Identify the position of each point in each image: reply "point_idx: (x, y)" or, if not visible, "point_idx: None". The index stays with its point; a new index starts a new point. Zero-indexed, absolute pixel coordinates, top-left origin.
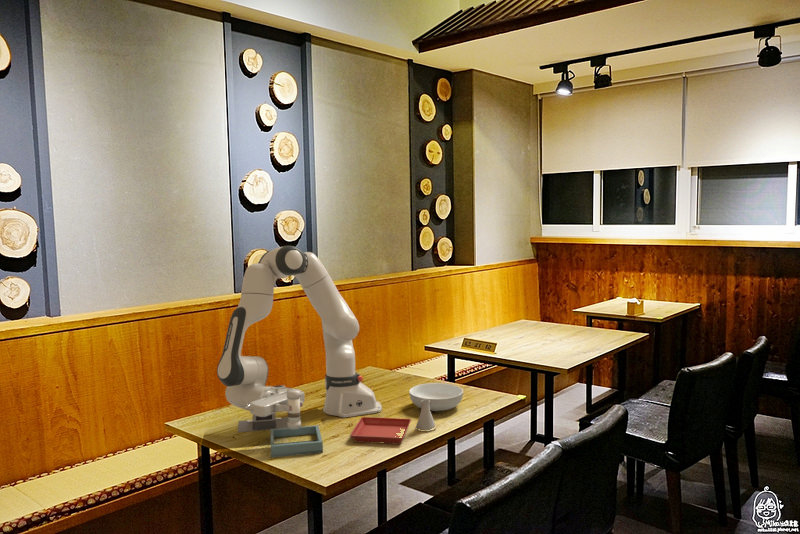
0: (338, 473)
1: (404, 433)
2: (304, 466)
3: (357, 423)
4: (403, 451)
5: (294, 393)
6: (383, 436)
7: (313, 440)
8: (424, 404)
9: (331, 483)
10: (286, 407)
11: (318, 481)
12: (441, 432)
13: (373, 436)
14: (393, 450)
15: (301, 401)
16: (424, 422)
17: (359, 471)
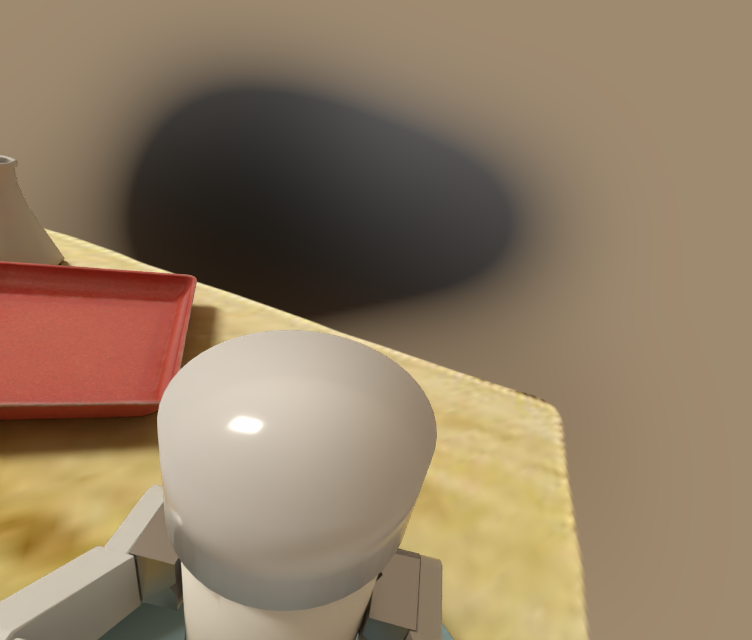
0: (468, 399)
1: (103, 288)
2: (495, 522)
3: None
4: (245, 298)
5: (398, 373)
6: (106, 337)
7: (168, 621)
8: (10, 172)
9: (533, 399)
10: (436, 600)
11: (551, 432)
12: (71, 243)
13: (186, 332)
14: (241, 314)
15: (162, 491)
16: (41, 237)
17: (424, 360)
